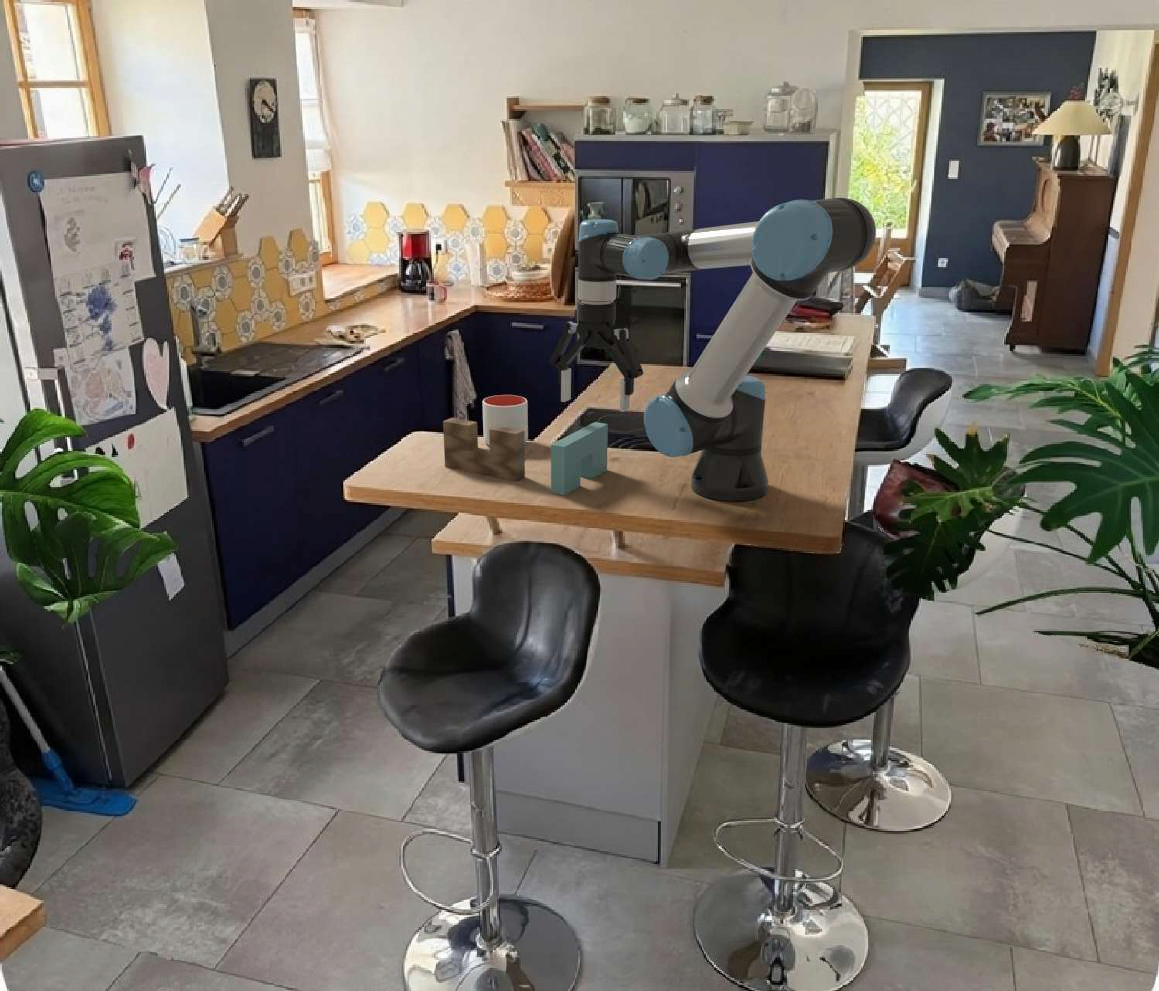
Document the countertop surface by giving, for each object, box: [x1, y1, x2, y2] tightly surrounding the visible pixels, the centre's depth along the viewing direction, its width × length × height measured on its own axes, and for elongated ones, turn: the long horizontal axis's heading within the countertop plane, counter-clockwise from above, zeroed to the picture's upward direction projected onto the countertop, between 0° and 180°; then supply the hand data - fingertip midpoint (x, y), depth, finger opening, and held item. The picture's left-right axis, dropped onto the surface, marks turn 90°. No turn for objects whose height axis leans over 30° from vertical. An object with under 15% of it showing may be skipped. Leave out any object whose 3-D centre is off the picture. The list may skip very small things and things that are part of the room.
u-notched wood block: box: [442, 417, 526, 482], centre depth 211 cm, size 18×3×10 cm, turn 61°
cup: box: [482, 394, 529, 447], centre depth 230 cm, size 10×10×10 cm
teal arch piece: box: [550, 421, 609, 497], centre depth 206 cm, size 18×3×10 cm, turn 151°
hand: (594, 405), depth 208 cm, fingers open, 13 cm apart
